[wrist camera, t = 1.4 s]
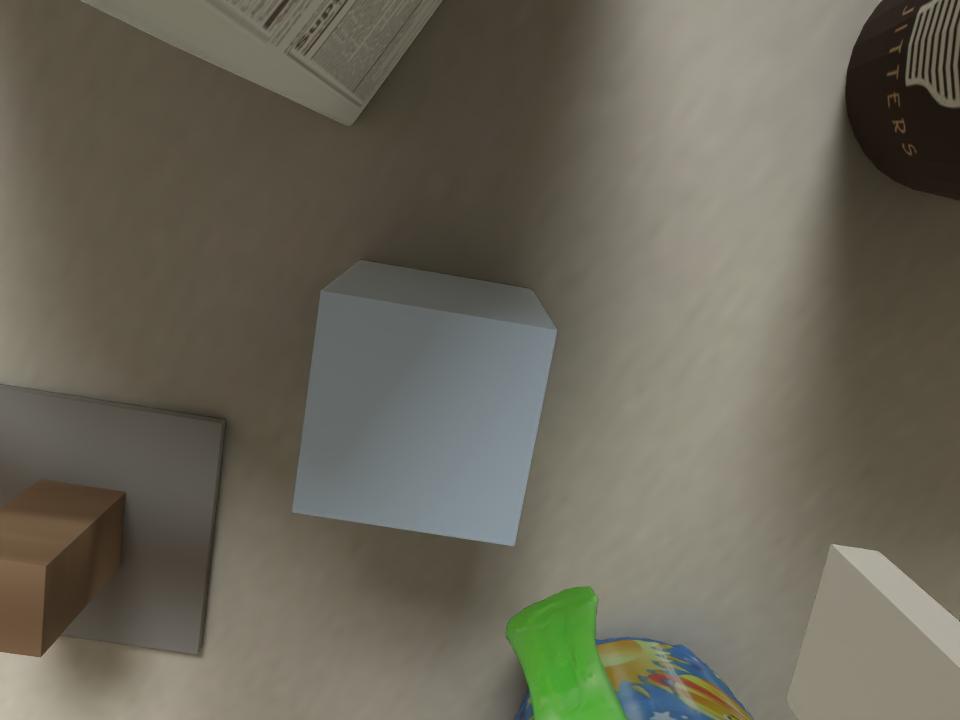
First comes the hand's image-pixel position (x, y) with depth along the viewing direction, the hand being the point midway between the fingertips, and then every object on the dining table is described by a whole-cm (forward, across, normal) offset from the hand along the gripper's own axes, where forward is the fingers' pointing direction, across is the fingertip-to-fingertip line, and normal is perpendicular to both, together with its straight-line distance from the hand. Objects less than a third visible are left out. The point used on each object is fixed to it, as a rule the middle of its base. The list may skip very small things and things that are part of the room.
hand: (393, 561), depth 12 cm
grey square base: (+13, -10, -7) cm, 17 cm away
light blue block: (+13, 0, 0) cm, 13 cm away
